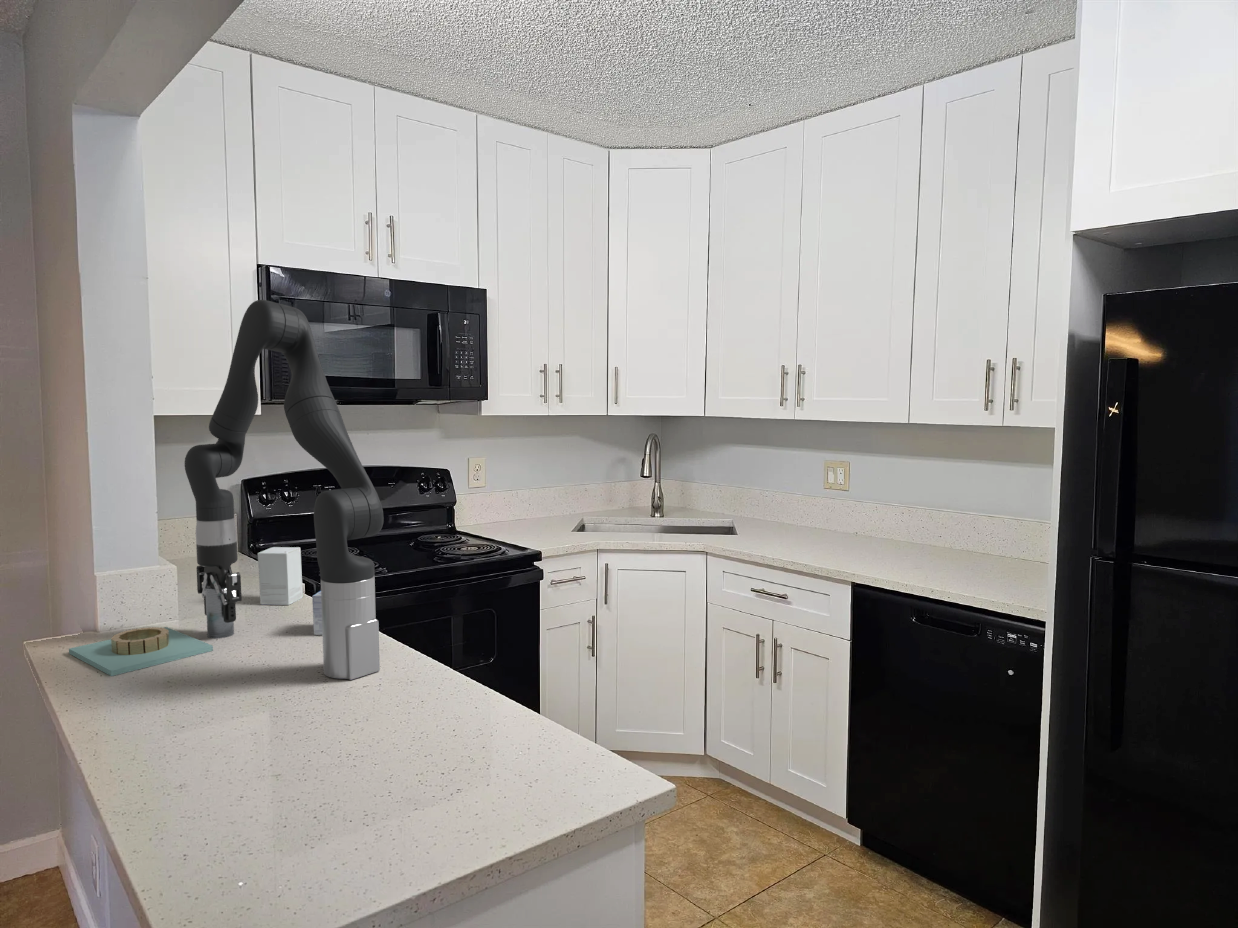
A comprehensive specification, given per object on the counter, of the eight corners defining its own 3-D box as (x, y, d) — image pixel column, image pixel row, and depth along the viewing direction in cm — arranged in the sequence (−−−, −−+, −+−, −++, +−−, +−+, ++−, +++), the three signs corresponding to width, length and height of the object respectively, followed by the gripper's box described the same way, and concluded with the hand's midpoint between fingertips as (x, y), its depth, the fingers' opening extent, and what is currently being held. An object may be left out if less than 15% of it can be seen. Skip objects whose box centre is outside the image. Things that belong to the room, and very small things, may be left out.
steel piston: (238, 634, 170) (236, 587, 169) (214, 639, 166) (212, 591, 165) (226, 629, 173) (224, 583, 172) (203, 635, 169) (200, 588, 168)
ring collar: (177, 645, 159) (176, 633, 159) (124, 658, 152) (124, 645, 152) (156, 636, 165) (155, 624, 165) (104, 648, 158) (103, 635, 157)
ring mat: (212, 650, 159) (212, 645, 159) (111, 676, 145) (110, 670, 145) (166, 631, 172) (166, 626, 172) (69, 653, 158) (68, 648, 157)
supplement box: (303, 597, 199) (302, 546, 198) (288, 605, 192) (286, 552, 191) (275, 596, 200) (273, 546, 199) (258, 604, 193) (256, 552, 192)
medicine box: (334, 635, 169) (333, 594, 168) (313, 635, 169) (311, 594, 168) (347, 624, 177) (346, 585, 176) (327, 624, 177) (326, 585, 176)
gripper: (252, 541, 166) (255, 620, 168) (217, 534, 175) (221, 608, 177) (215, 547, 160) (218, 628, 162) (181, 539, 169) (185, 616, 171)
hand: (220, 618), depth 169 cm, fingers open, 7 cm apart
